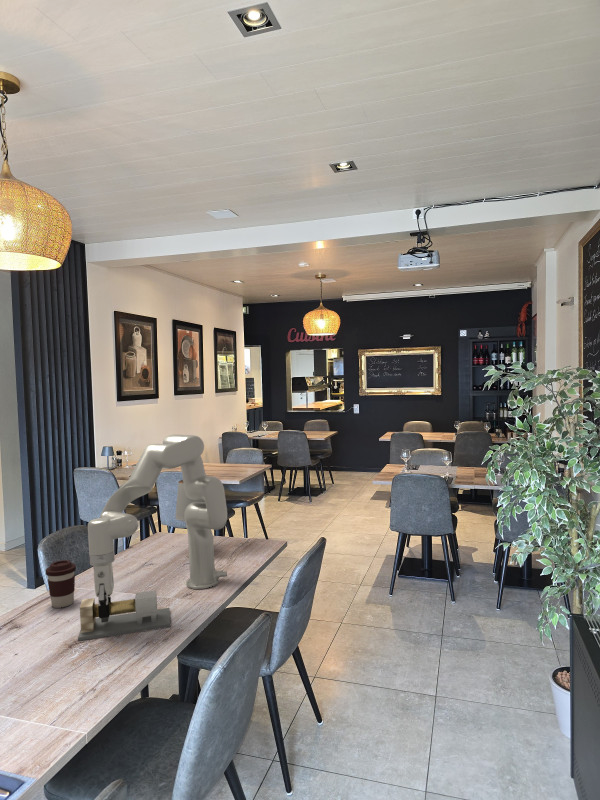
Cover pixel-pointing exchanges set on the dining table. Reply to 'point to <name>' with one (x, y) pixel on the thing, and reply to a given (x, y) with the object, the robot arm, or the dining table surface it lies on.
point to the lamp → (182, 502)
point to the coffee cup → (61, 583)
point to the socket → (87, 615)
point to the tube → (116, 608)
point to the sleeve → (146, 605)
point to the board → (126, 625)
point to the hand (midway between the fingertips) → (105, 612)
